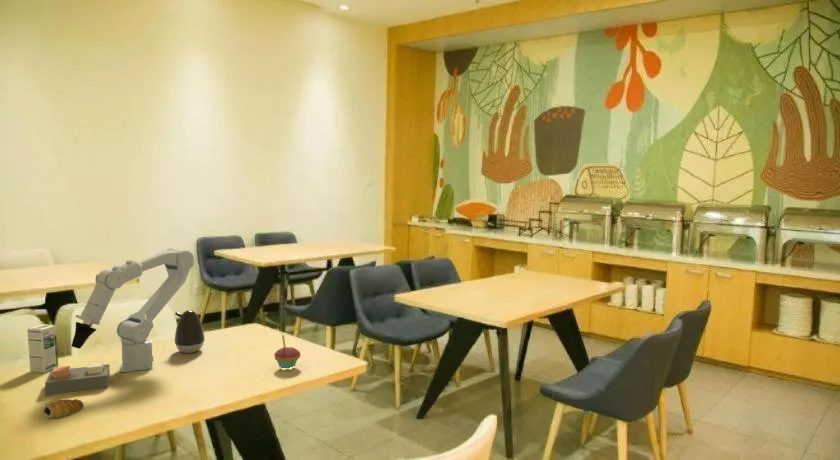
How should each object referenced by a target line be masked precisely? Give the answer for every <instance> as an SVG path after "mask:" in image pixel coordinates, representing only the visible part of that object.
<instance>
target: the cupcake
mask: <svg viewBox="0 0 840 460" xmlns="http://www.w3.org/2000/svg"><path fill="white" fill-rule="evenodd" d="M281 334H282V335H281V338H282V345H283V347H281V348H279V349H278V350H276V352H274V355H273V356H274V360H276V362H277V364H278V366H279V368H280V367H281V368H290V367H293V366H296V364H297V361H298V360H299V359H300V358H301V352H300V351H299V350H298V349H296V348H295V347H293V346H286V340H285V334H283V332H281Z"/></svg>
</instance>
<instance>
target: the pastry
mask: <svg viewBox="0 0 840 460" xmlns="http://www.w3.org/2000/svg"><path fill="white" fill-rule="evenodd" d="M84 407H85V406H84V402H83V401H82V400H80V399H78V398H77V399H71V398H70V399H68V398H67V399H58V400H56V401H55V400H54V401H50V402H49V403H46V404H44V407H43V408H42V414H43V415H44V417H45V418H48V419H50V420H52V419H53V420H54V419H55V420H57V419H60V418H62V417H67V416H70V415H73V414H76V413H78V412H81V410H82V409H84Z"/></svg>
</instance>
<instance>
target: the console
mask: <svg viewBox="0 0 840 460" xmlns="http://www.w3.org/2000/svg"><path fill="white" fill-rule="evenodd" d="M87 367H88V366H81V367H75V368H73V367H72V368H70V376H69V377H61V378H53V370H49V374H48V376H47V378H46V380H45V382H44V386H45V391H44V392H45V397H48V396H56V395H65V394H73V393H81V392H89V391H97V390H105V389H108V388H109V384H110V383H109V382H110V377H111V374H110V372H111V371H110V364H103V373H96V374H87Z"/></svg>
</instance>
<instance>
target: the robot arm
mask: <svg viewBox="0 0 840 460" xmlns="http://www.w3.org/2000/svg"><path fill="white" fill-rule="evenodd" d="M194 258H195V257H194V255H193V253H192V252H191V251H190V250H183V249H182V250H181V249H175V248H168V249H165V250H164V249H163V250H161V252H158V253H156V254H154V255H152V256H149V257H147V258H145V259H143V260H140V261H137V260H130V259H129V260H126V261H125V263H124V264H121V265H118V266H117V265H114V266H113V267H112V268H111V269H103V270H101V271H100V272H99V273H97V274H96V275H95V285H94V288H93V290H92V291H91V294H90V296H89V298H88V300H87V302H86V304H85V306H84V308H83V310H82V312H81V314H80V315H78V314H76V315H75V317H74V318H78V320H82V322H79V321H76V322H75V331H74V336H73V339H72V341H71V348H76V349H79V350H80V349H81V348H82V347H83V346H84V344H85V343H86V342H87V340H88V339H89V338H90V336H91V335H92V334H94V333H95V332H96V331H97V328H95V327H92V326H93V325H97V326H99V325H100V323H101V320H102V318H103V316H104V314H105V312H106V311H107V308H108V305H109V303H110V301H111V299H112V297H113V296H114V294H115V292H116V290H117V289H120V288H121V287H122V286H123V285H124V284H126V283H127V282H130V281H132V280H135V279H137V278H139V277H141V276H142V275H143V272H145V271H149V270H151V269H153V268H156V267H159V266H162V265H164V267H165V270H166V272H167V275H168V277H167V278H166V279H165V280H164V281H163V282H162V284H161V285H160V286H159V287H158V289H156V291H155V292H154V293H153V294H152V296H150V298H149V299H148V300H147V301H146V302H145V303H144V305H142V306H141V308H140V309H139V310H138V311H137V312H134V313H131V314H130V315H129V316H128V317H127V318H125V319H124V320H122V321H120V323H118V325H117V327H116V334H117V336H118V337H119V338H120V341H121V366H120V372H121V373H124V372H132V371H133V372H134V371H143V370H151V369H153V362H154V355H153V340H152V339H148V338H149V336H150V333H151V331H152V330H153V328H154V323H153V321H154V319H155V318H156V317H157V316H158V315H159V314H160V313H161V312H162V310H163V309H164V307H165V306H166V305H167V304H168V303H169V302H170V300H171V299H172V298H173V297H174V296H175V295H176V293H178V291H179V290H180V289H181V287H182V286H183V285H184V284H185V283H186V281H187V279H188V275H189V273H190V270H191V269H192V268H193V267H194V266H195V260H194Z"/></svg>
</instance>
